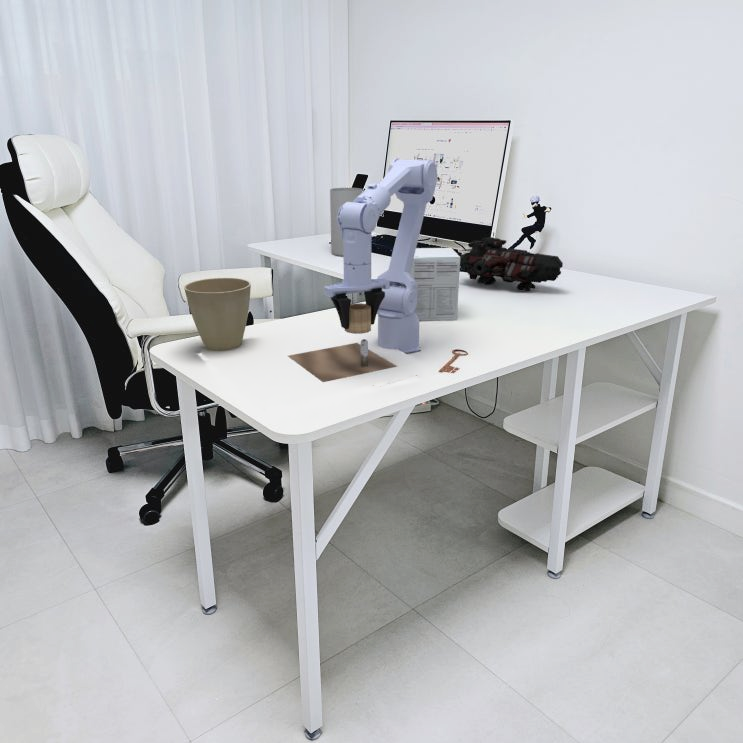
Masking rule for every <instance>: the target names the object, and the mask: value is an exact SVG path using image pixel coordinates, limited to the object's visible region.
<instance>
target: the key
mask: <svg viewBox="0 0 743 743" xmlns="http://www.w3.org/2000/svg"><path fill="white" fill-rule="evenodd" d="M451 353H452V354H453V355H454V356H452V358H450V360H448V362H446V364H444V365H443V366H442V367H441V368H440V369H439V370H438V373H448V374H455V373H456V372H458V371H459V370H460V369H461V367H457V366H456V367H455V366H452V365H451V364H453V363H454V362H455V361H456V360H457V359H458V358H459V357H460V356H461V357H463V356H468V355H469V353H468V352H467V351H466V350H463V349H460V348H459V349H453V350H452V351H451Z"/></svg>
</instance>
